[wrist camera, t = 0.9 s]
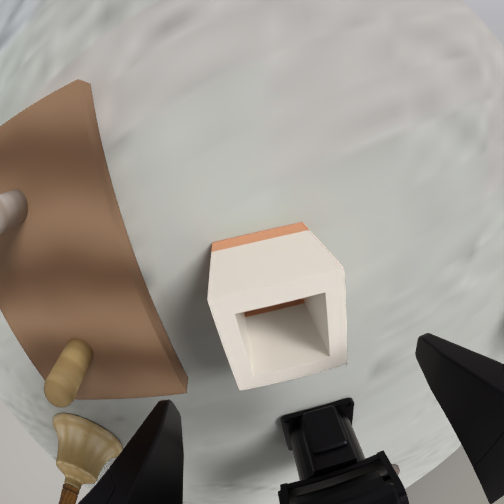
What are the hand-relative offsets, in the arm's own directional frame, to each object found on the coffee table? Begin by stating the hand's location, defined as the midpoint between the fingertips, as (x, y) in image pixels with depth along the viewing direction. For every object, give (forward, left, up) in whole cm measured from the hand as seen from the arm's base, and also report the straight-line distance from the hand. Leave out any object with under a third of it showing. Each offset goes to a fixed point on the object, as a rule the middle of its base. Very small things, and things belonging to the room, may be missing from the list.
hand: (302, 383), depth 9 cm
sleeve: (0, 0, -8) cm, 8 cm away
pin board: (+3, +13, -8) cm, 16 cm away
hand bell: (-15, +22, -9) cm, 28 cm away
